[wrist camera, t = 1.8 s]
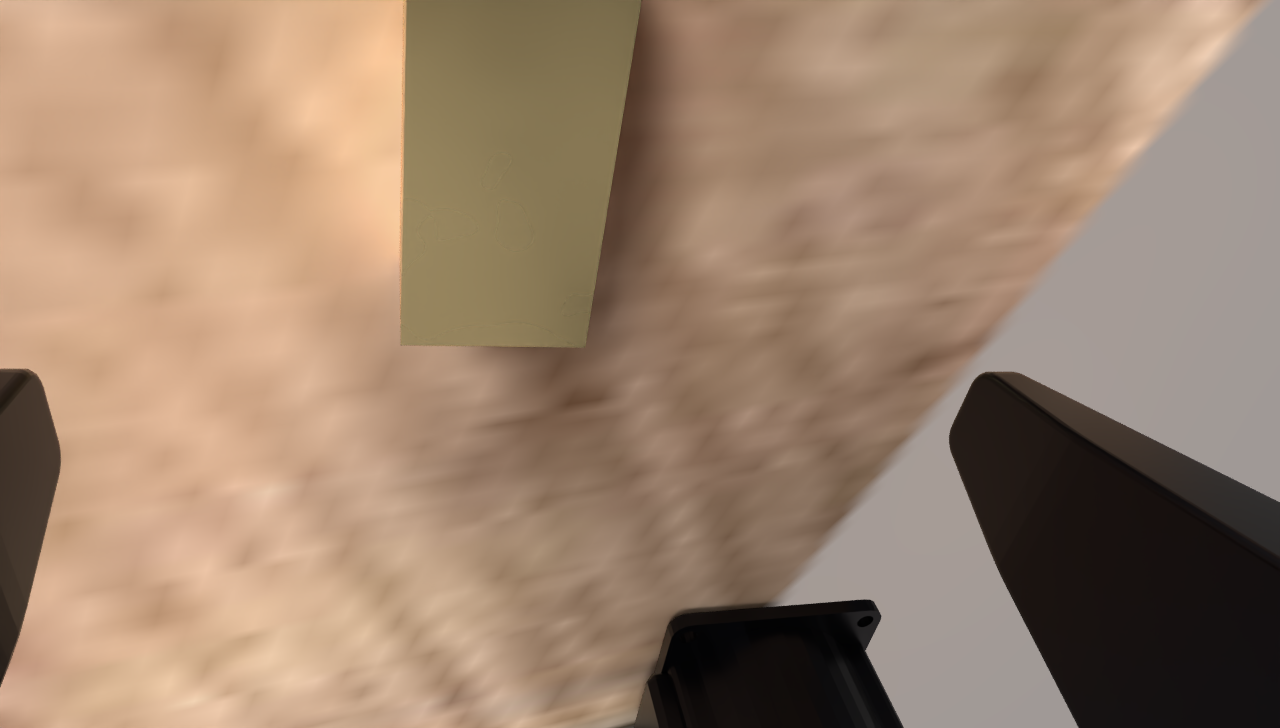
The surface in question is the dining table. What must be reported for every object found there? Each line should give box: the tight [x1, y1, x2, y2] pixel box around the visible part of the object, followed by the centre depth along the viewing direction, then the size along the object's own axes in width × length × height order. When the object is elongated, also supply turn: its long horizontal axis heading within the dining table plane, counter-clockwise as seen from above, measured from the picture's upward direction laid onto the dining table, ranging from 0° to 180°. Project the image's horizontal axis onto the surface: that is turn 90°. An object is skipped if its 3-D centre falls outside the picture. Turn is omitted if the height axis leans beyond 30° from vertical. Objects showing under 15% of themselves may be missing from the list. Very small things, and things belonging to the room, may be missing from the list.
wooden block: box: [400, 0, 642, 348], centre depth 14 cm, size 3×6×3 cm, turn 170°
